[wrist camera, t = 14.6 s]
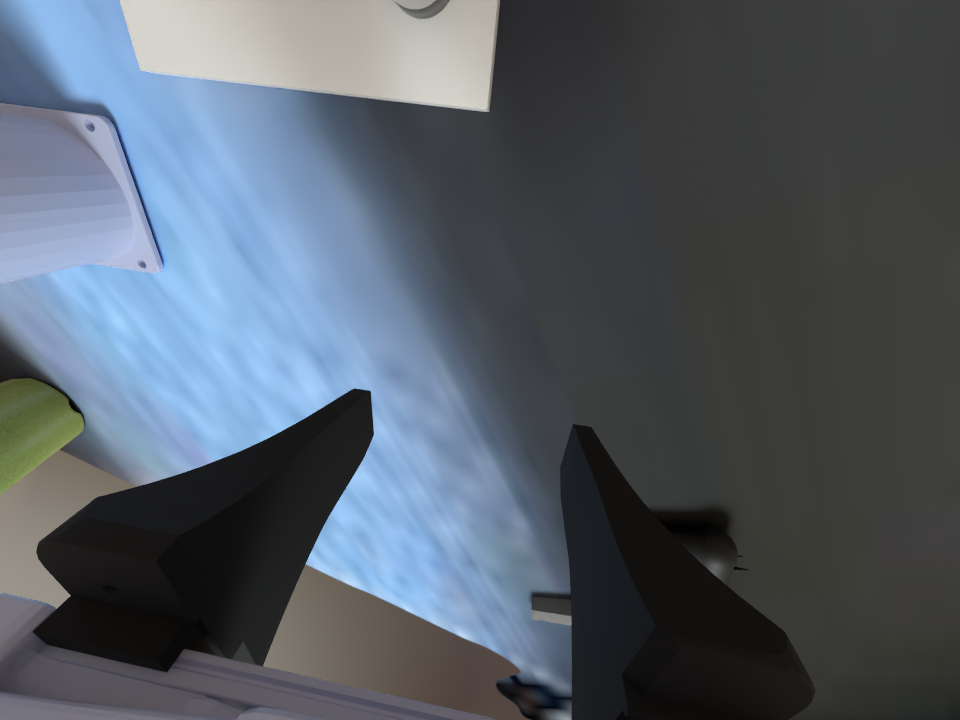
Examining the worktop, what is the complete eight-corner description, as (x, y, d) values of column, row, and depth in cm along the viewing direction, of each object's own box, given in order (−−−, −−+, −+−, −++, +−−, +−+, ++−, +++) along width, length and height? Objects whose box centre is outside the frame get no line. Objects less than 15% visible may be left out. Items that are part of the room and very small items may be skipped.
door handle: (533, 657, 36) (708, 690, 33) (524, 533, 27) (769, 560, 23) (535, 621, 39) (696, 647, 35) (528, 497, 30) (746, 516, 26)
